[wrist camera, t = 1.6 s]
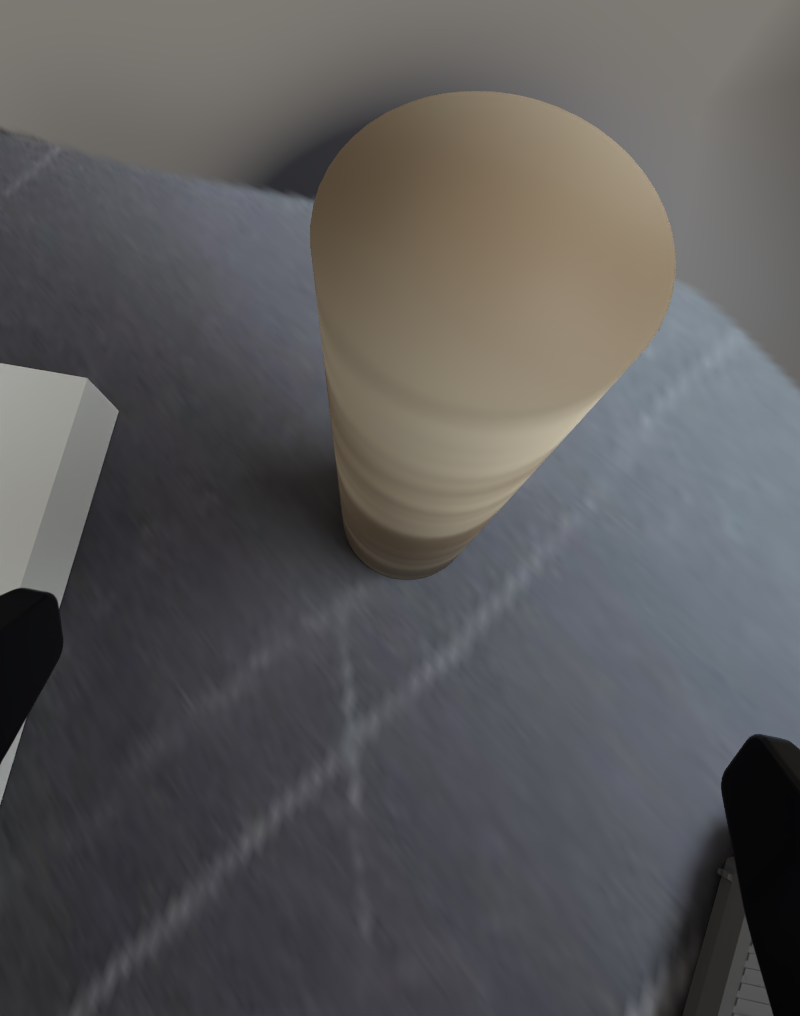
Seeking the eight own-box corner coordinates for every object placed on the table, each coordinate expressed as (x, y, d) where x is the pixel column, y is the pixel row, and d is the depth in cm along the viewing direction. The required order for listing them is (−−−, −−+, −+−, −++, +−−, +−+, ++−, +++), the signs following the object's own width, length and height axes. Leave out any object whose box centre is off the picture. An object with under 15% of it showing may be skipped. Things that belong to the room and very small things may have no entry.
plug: (461, 589, 20) (668, 438, 7) (332, 567, 20) (274, 371, 7) (477, 466, 21) (682, 125, 8) (354, 445, 21) (346, 63, 8)
